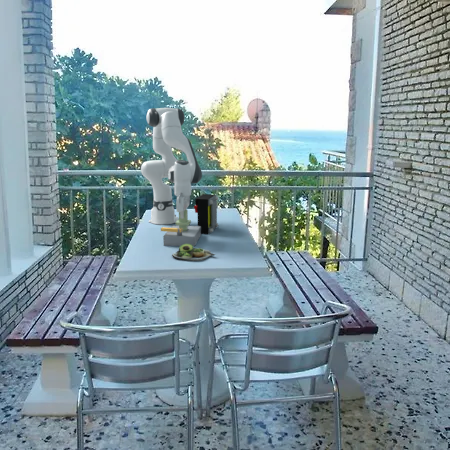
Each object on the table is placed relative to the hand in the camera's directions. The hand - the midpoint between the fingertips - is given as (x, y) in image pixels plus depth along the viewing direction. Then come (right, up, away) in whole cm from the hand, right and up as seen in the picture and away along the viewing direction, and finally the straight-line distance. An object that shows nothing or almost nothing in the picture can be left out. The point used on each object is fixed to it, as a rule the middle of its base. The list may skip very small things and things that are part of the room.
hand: (183, 217), depth 246 cm
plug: (0, -7, +1) cm, 7 cm away
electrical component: (+12, -8, +22) cm, 26 cm away
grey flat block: (0, -12, 0) cm, 12 cm away
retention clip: (-5, -9, -9) cm, 14 cm away
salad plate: (+7, -19, -28) cm, 35 cm away
